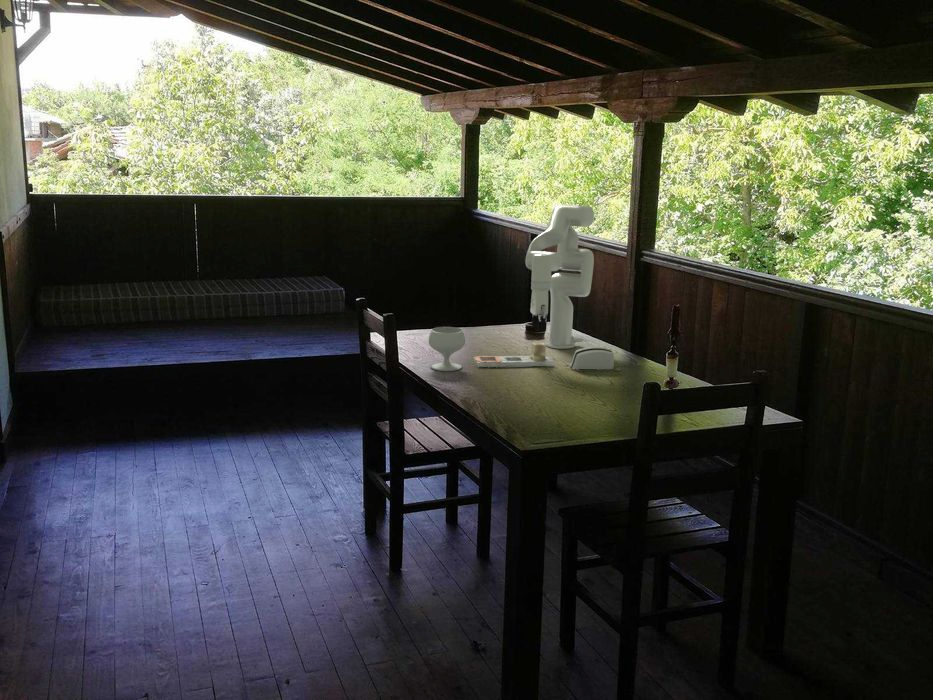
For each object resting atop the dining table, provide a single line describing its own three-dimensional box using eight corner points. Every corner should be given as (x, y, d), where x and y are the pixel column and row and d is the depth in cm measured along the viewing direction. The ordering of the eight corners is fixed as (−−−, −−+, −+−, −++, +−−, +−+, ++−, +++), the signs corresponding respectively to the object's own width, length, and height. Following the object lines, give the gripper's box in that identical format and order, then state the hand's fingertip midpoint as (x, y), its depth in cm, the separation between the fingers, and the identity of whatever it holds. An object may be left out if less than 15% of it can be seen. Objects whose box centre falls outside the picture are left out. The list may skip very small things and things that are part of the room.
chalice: (457, 362, 346) (458, 325, 342) (469, 371, 333) (470, 332, 329) (423, 365, 341) (423, 327, 338) (434, 373, 328) (435, 334, 325)
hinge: (609, 365, 345) (613, 344, 340) (613, 372, 341) (617, 350, 336) (568, 367, 342) (572, 345, 336) (572, 373, 338) (576, 352, 333)
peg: (542, 362, 349) (543, 342, 347) (545, 364, 345) (545, 345, 343) (531, 362, 348) (531, 342, 347) (533, 365, 344) (534, 345, 342)
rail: (547, 360, 352) (547, 354, 352) (553, 366, 342) (553, 360, 342) (473, 361, 347) (473, 356, 347) (477, 367, 338) (477, 362, 337)
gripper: (526, 282, 347) (524, 325, 351) (536, 288, 330) (534, 333, 334) (544, 282, 348) (543, 325, 352) (556, 288, 332) (553, 333, 335)
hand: (538, 329), depth 343 cm, fingers open, 9 cm apart
